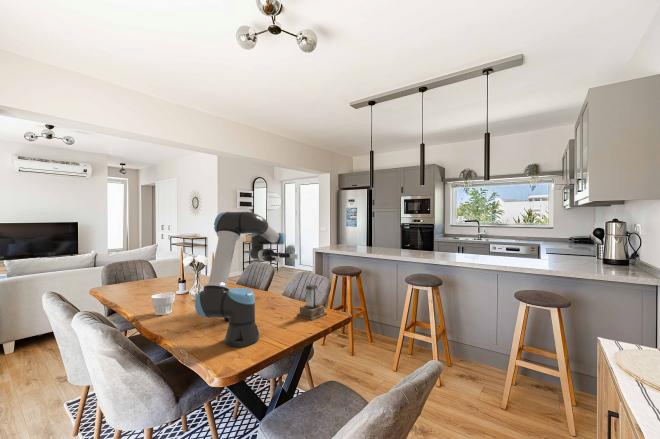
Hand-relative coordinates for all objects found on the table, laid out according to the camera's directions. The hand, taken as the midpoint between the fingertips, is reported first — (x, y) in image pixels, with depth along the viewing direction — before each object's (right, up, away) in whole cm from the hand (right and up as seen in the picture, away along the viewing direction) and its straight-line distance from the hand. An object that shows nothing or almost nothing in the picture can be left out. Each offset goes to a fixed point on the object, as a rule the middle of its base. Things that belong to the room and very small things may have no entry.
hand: (288, 258), depth 173 cm
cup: (-74, -33, 0) cm, 81 cm away
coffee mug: (-32, -33, -11) cm, 47 cm away
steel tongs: (+14, -31, -6) cm, 34 cm away
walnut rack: (+14, -32, -6) cm, 35 cm away
